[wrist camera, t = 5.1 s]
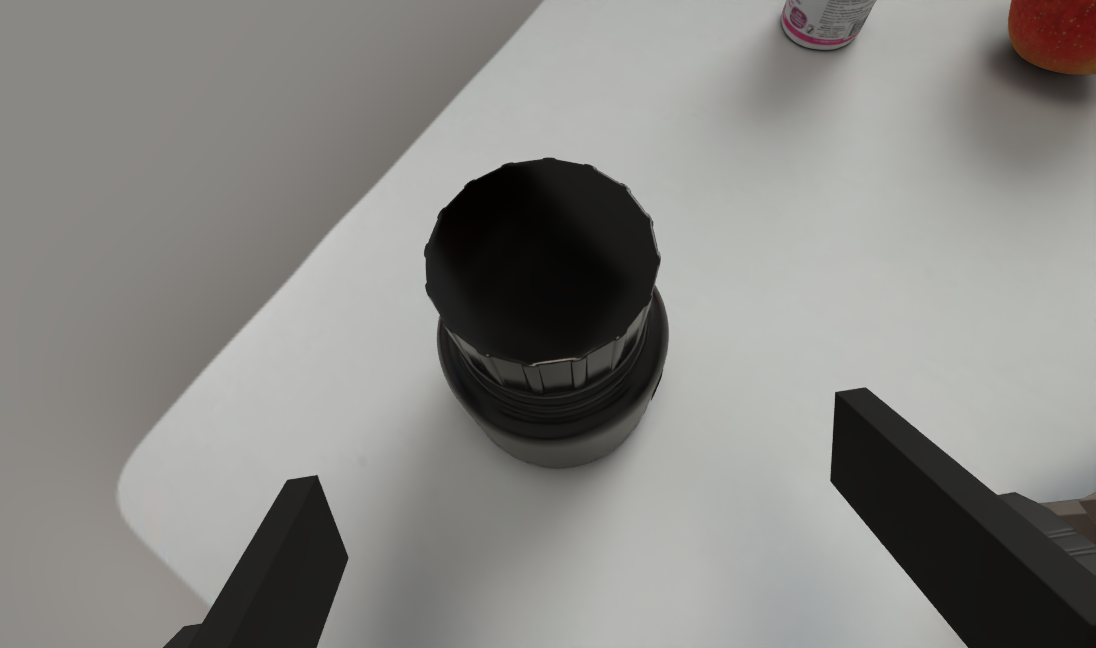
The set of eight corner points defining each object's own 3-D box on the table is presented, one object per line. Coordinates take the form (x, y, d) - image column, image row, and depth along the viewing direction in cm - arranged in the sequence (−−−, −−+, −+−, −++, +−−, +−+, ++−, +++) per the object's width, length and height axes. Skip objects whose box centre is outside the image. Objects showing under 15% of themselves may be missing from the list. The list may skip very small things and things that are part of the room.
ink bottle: (695, 377, 27) (775, 251, 15) (570, 518, 24) (557, 491, 13) (549, 257, 29) (527, 80, 18) (425, 375, 27) (318, 254, 16)
